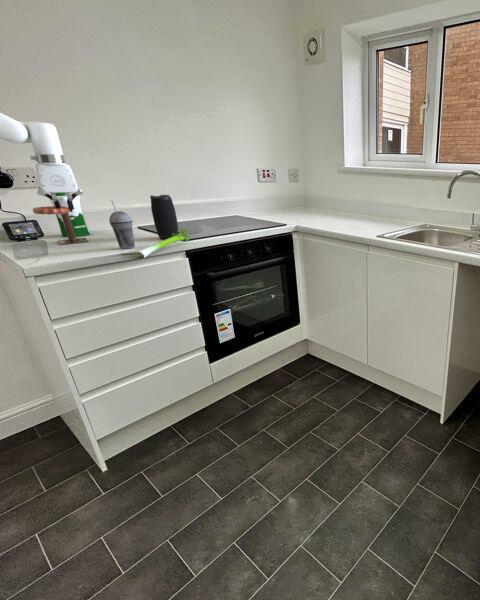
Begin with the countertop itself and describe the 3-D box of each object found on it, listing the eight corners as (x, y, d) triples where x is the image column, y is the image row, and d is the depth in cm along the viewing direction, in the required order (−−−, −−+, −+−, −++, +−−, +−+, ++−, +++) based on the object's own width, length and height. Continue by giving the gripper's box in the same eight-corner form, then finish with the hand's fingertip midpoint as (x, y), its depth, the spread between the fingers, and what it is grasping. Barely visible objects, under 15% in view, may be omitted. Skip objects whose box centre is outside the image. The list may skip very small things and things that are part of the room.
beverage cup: (142, 250, 143) (130, 199, 136) (122, 253, 137) (108, 201, 130) (133, 247, 147) (121, 198, 139) (113, 250, 141) (99, 199, 133)
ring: (34, 215, 124) (32, 209, 124) (32, 212, 131) (31, 206, 130) (72, 213, 131) (70, 208, 131) (68, 210, 138) (67, 205, 137)
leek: (132, 261, 133) (179, 239, 160) (150, 264, 134) (194, 242, 161) (129, 246, 131) (177, 226, 158) (148, 249, 131) (193, 229, 158)
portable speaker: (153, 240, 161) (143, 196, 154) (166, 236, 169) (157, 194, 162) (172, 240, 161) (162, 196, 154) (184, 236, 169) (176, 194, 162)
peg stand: (61, 247, 143) (49, 211, 138) (58, 243, 149) (47, 208, 143) (89, 244, 149) (79, 209, 144) (86, 240, 155) (76, 207, 149)
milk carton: (77, 233, 169) (64, 190, 161) (93, 234, 167) (81, 191, 160) (58, 236, 161) (43, 191, 153) (75, 237, 159) (61, 192, 152)
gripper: (19, 159, 119) (37, 214, 126) (81, 161, 130) (94, 211, 137) (18, 158, 124) (35, 211, 130) (78, 160, 135) (91, 209, 141)
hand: (65, 211), depth 133 cm, fingers closed on ring, 2 cm apart
